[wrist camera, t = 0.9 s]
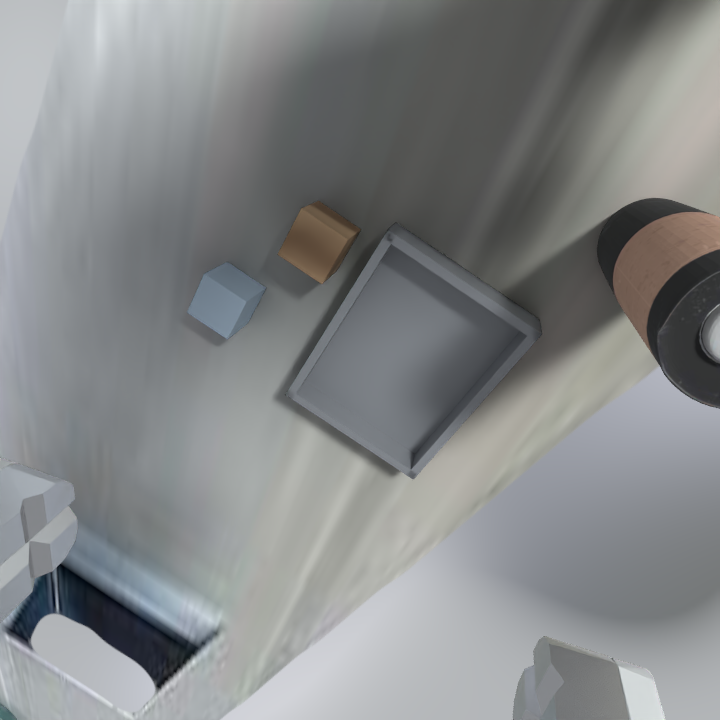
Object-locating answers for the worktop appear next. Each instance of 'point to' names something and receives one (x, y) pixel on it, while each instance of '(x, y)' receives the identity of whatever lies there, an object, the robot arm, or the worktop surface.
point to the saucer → (6, 714)
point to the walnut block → (318, 241)
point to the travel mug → (669, 288)
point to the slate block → (226, 299)
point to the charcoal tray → (412, 352)
